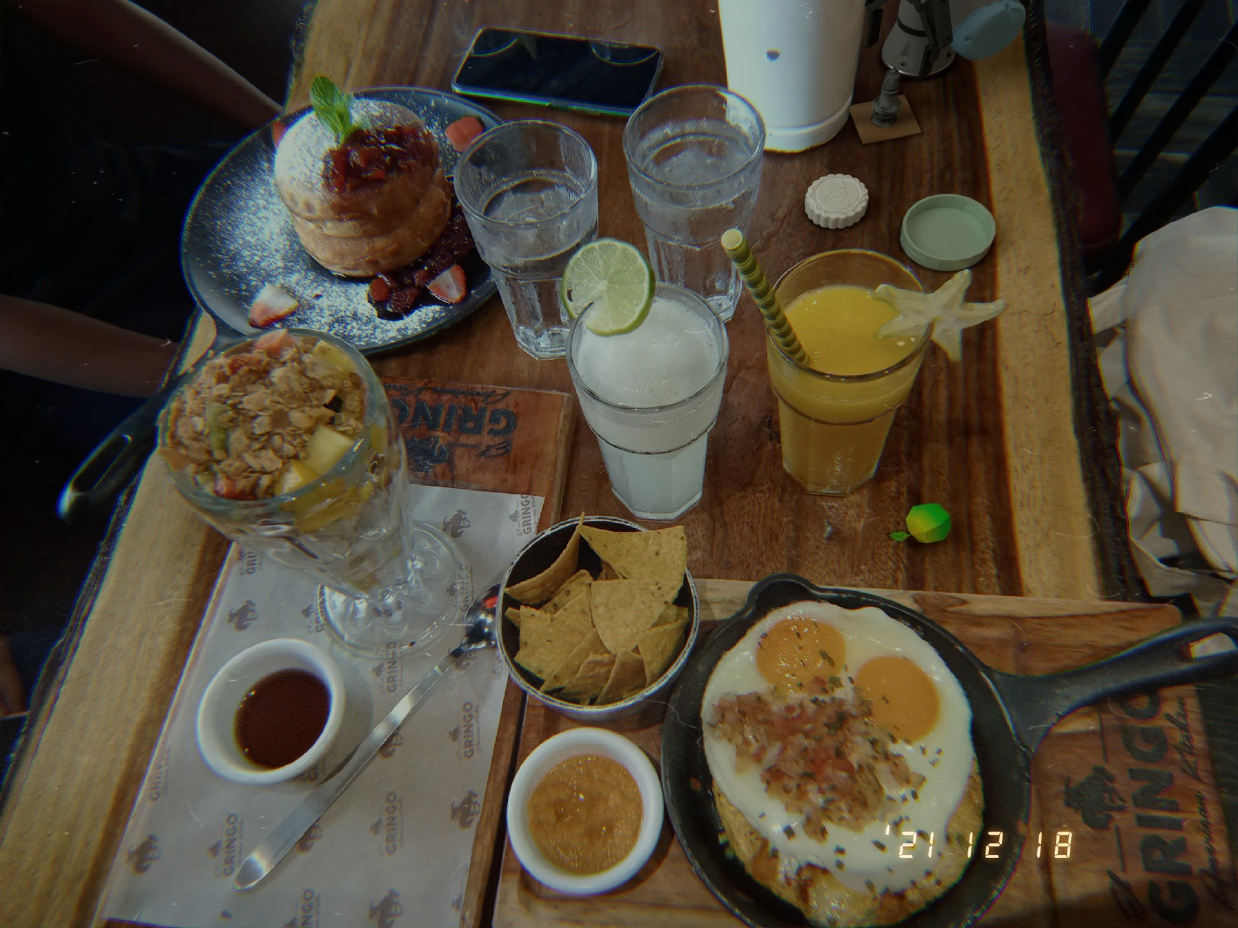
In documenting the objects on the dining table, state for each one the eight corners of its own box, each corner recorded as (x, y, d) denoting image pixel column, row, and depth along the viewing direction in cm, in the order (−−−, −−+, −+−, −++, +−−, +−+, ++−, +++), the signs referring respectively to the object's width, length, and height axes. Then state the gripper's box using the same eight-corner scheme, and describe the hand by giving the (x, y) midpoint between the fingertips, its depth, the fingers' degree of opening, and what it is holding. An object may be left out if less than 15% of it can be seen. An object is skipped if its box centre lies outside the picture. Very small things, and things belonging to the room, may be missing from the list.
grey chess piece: (897, 129, 152) (909, 77, 142) (868, 128, 154) (878, 77, 143) (898, 109, 155) (910, 56, 144) (870, 109, 156) (879, 57, 145)
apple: (951, 497, 109) (905, 531, 108) (968, 532, 110) (922, 565, 109) (920, 489, 116) (876, 521, 114) (936, 522, 117) (893, 553, 116)
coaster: (847, 107, 158) (848, 106, 157) (904, 96, 157) (904, 94, 156) (862, 145, 152) (863, 144, 152) (921, 133, 151) (921, 132, 151)
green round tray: (889, 215, 143) (892, 203, 141) (973, 198, 142) (978, 186, 139) (914, 278, 136) (917, 267, 133) (1003, 261, 135) (1008, 250, 132)
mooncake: (799, 191, 149) (800, 177, 146) (858, 180, 148) (861, 166, 145) (811, 234, 144) (812, 221, 141) (873, 224, 143) (876, 210, 140)
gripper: (850, -72, 128) (837, 42, 147) (963, -17, 117) (933, 99, 136) (881, -93, 129) (864, 23, 148) (996, -39, 119) (962, 78, 137)
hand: (897, 60), depth 142 cm, fingers open, 13 cm apart
